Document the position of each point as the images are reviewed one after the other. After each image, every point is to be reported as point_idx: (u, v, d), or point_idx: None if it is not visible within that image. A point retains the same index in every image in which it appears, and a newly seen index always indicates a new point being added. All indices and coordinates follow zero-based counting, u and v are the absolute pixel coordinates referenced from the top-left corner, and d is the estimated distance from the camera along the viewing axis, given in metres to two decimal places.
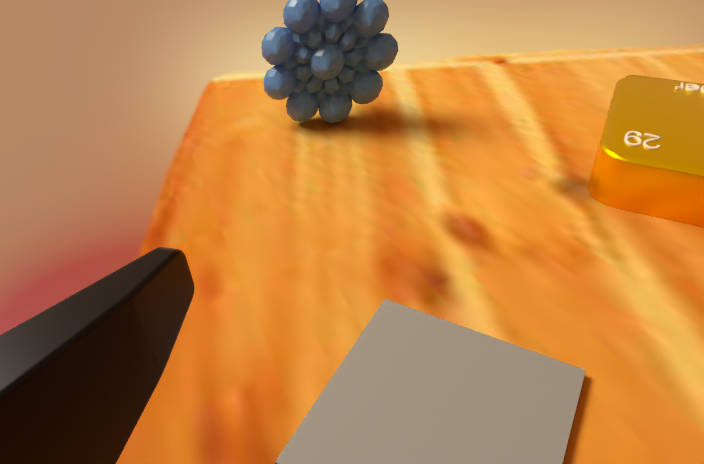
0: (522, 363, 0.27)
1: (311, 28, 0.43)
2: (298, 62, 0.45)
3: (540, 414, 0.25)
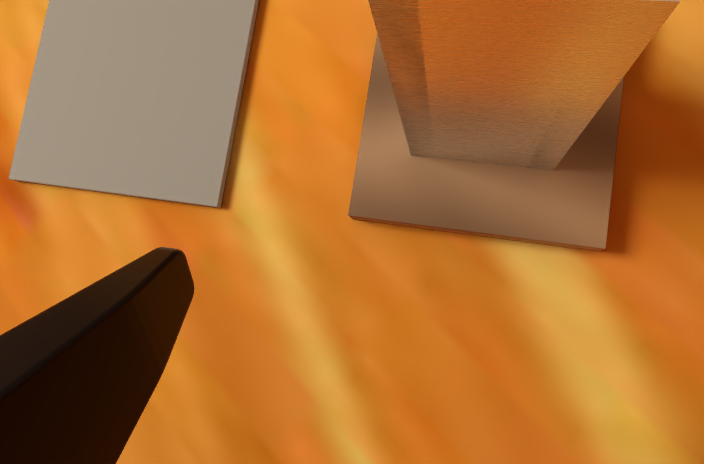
0: None
1: None
2: None
3: (218, 45, 0.25)
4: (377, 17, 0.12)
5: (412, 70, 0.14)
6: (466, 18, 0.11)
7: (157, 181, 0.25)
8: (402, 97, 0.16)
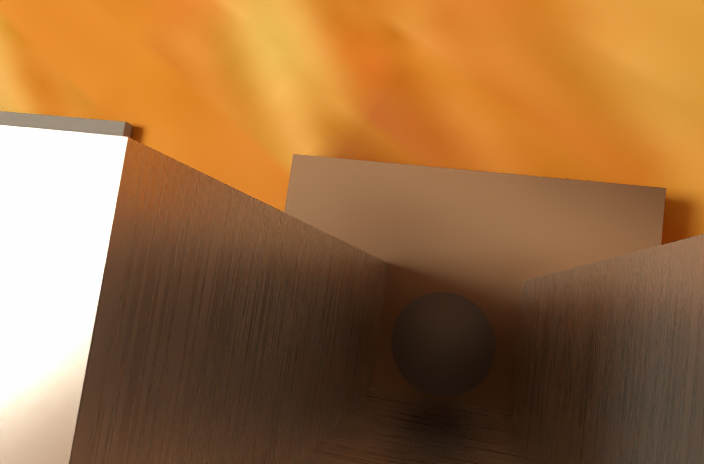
0: None
1: None
2: None
3: None
4: None
5: None
6: None
7: None
8: None
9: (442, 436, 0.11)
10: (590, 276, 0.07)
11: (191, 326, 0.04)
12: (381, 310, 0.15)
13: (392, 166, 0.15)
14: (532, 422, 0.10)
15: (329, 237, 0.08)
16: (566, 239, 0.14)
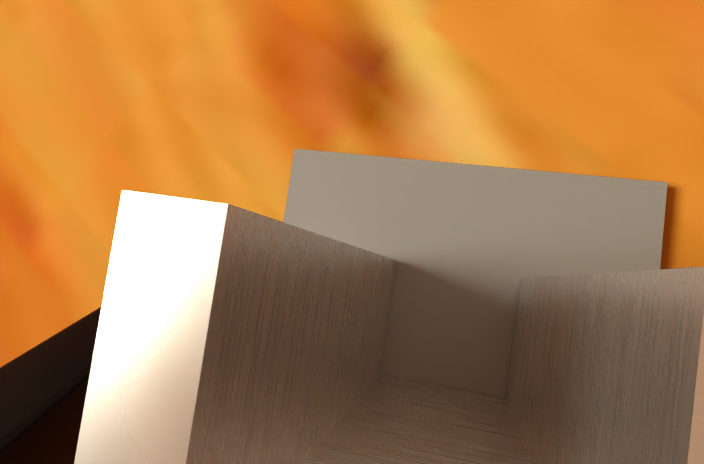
0: (556, 205, 0.16)
1: None
2: None
3: None
4: None
5: None
6: None
7: None
8: None
9: (445, 417, 0.12)
10: (572, 286, 0.08)
11: (257, 334, 0.06)
12: (390, 303, 0.16)
13: None
14: (524, 406, 0.11)
15: (350, 247, 0.09)
16: None
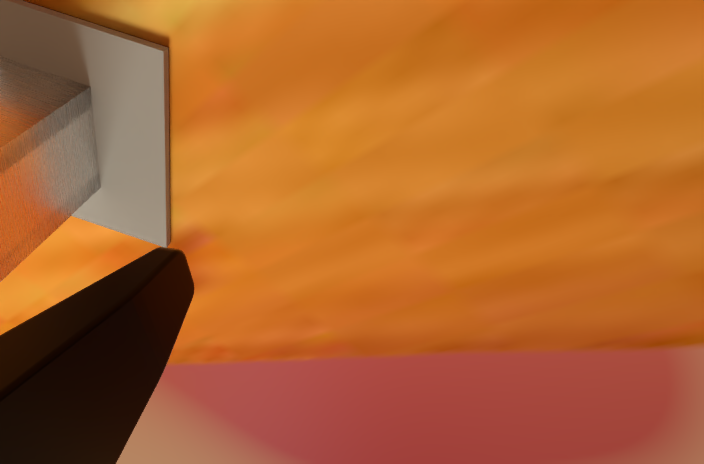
0: None
1: None
2: None
3: None
4: None
5: None
6: None
7: (147, 113, 0.23)
8: (8, 269, 0.22)
9: None
10: None
11: None
12: None
13: None
14: None
15: None
16: None
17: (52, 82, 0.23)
